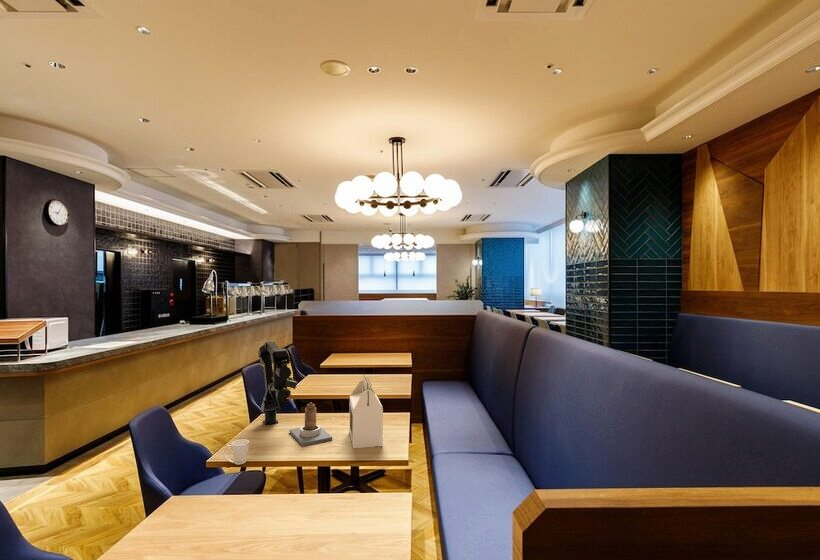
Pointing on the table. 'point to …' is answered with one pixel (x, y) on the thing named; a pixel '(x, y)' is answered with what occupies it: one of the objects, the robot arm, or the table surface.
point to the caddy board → (311, 439)
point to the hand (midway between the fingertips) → (279, 407)
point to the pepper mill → (310, 417)
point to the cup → (238, 451)
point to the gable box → (365, 416)
